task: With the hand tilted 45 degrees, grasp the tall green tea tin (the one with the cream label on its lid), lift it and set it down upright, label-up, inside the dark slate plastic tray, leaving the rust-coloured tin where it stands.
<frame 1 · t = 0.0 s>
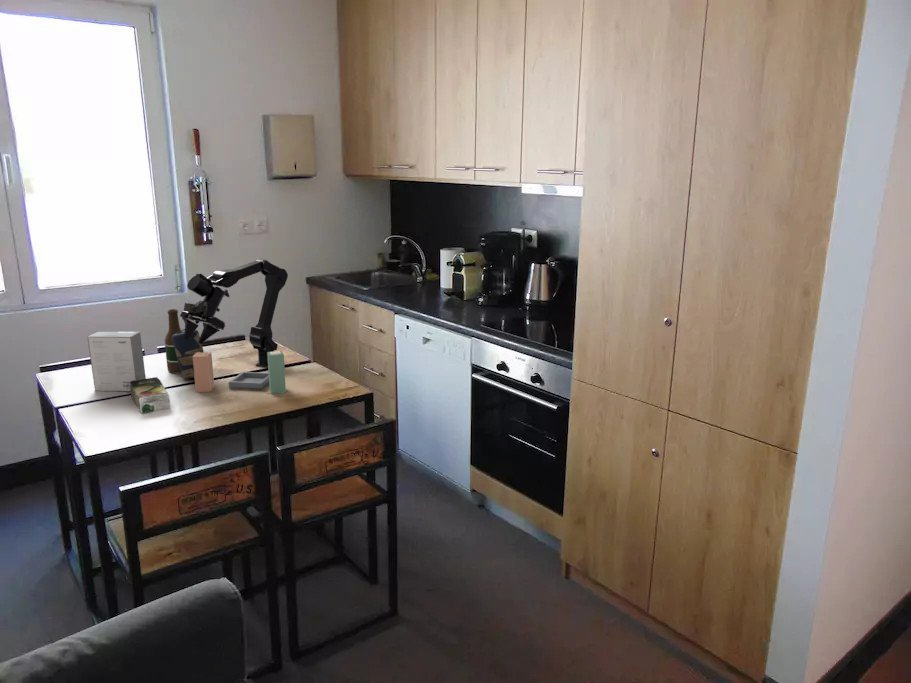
hand: (192, 341, 241), 16 cm above the table, tool tilted 35°, fingers open, 8 cm apart
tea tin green: (277, 391, 241), on the table
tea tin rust: (205, 389, 241), on the table
beer bottle: (178, 371, 262), on the table
tray: (251, 383, 248), on the table
juice carton: (150, 403, 228), on the table
canister: (196, 376, 253), point 1 cm above the table, touching gripper
hard drive box: (121, 388, 242), on the table
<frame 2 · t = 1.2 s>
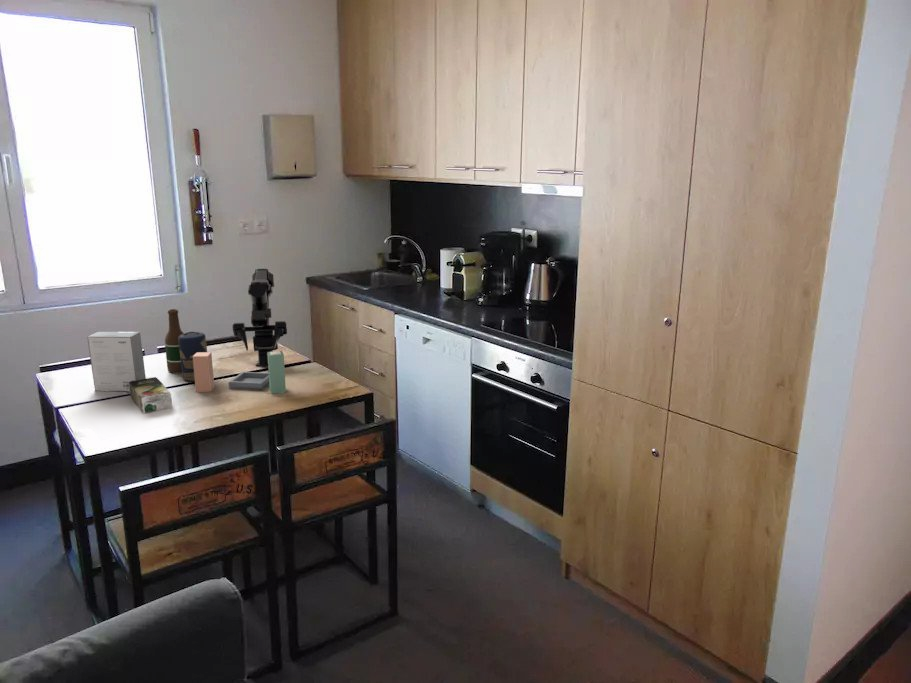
hand: (260, 349, 243), 14 cm above the table, tool tilted 45°, fingers open, 9 cm apart
canister: (196, 378, 253), on the table
everything else where it was.
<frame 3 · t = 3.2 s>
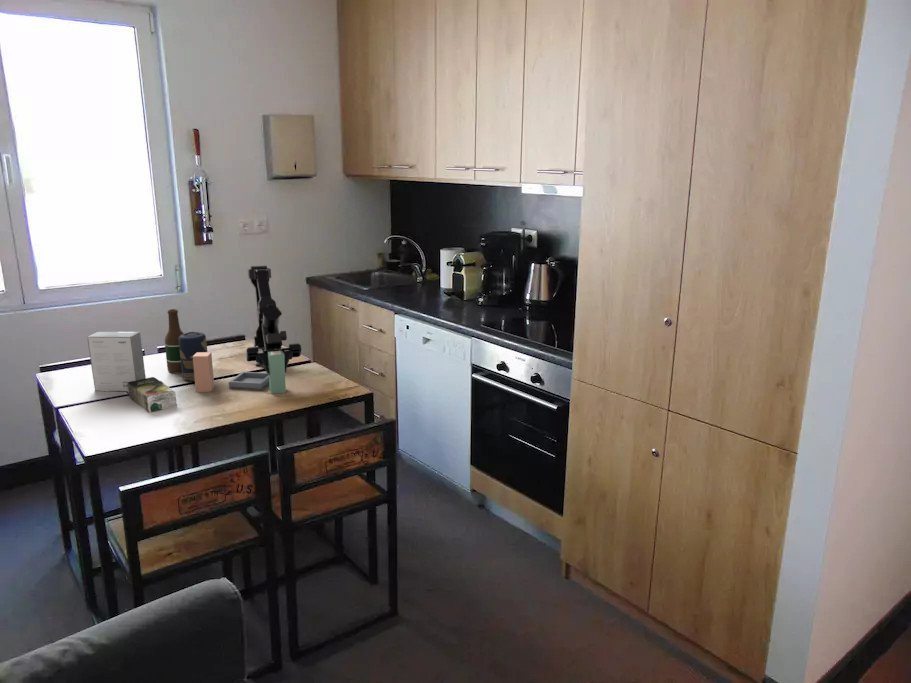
hand: (277, 373, 238), 7 cm above the table, tool tilted 45°, fingers open, 5 cm apart
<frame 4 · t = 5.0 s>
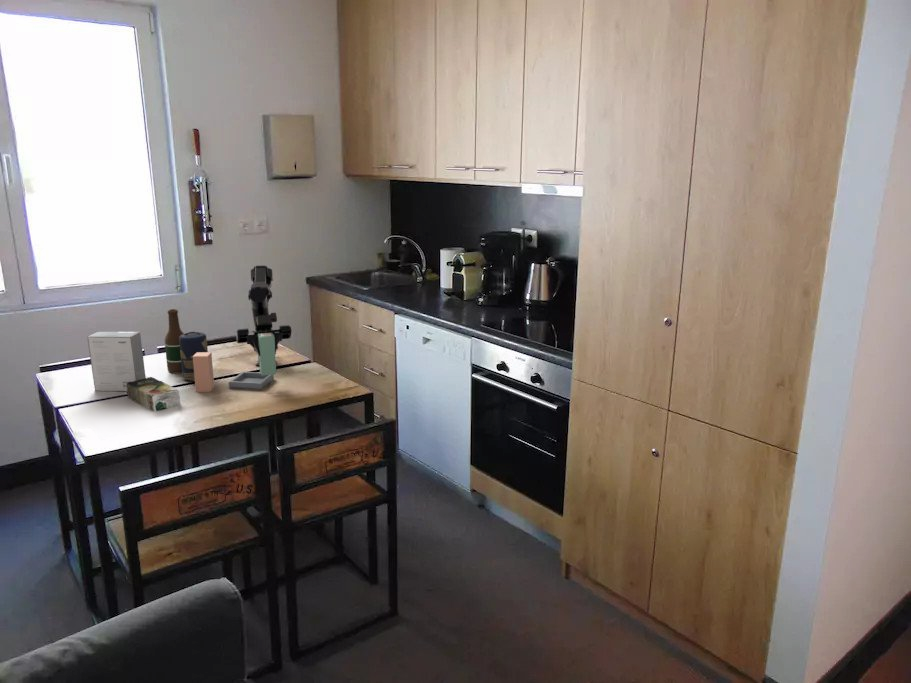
hand: (267, 354, 239), 13 cm above the table, tool tilted 45°, fingers closed on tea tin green, 5 cm apart
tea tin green: (268, 372, 242), point 6 cm above the table, touching gripper
when the fingers open (9 cm above the table, at t = 6.6 s): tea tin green drops 1 cm, resting on tray.
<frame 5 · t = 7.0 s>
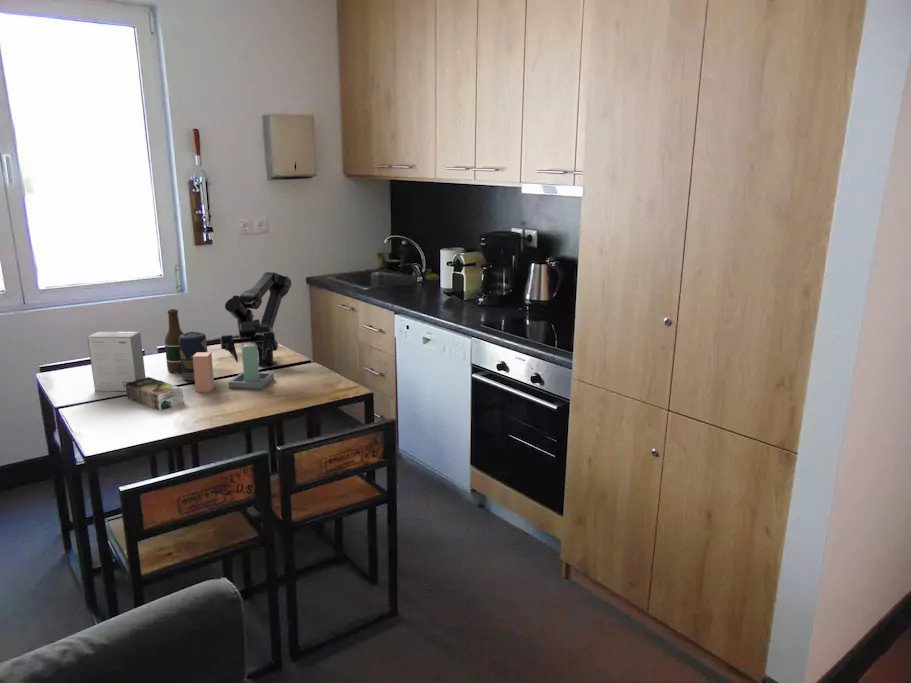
hand: (250, 360, 244), 9 cm above the table, tool tilted 45°, fingers open, 9 cm apart
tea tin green: (251, 381, 247), point 1 cm above the table, touching tray
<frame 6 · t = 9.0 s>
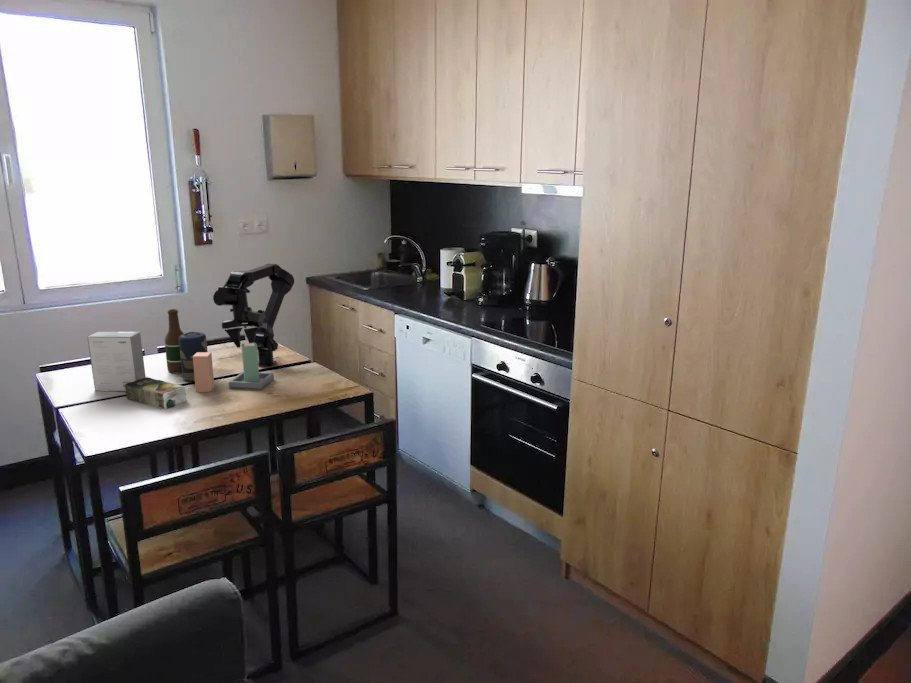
hand: (245, 346, 252), 12 cm above the table, tool tilted 15°, fingers open, 9 cm apart
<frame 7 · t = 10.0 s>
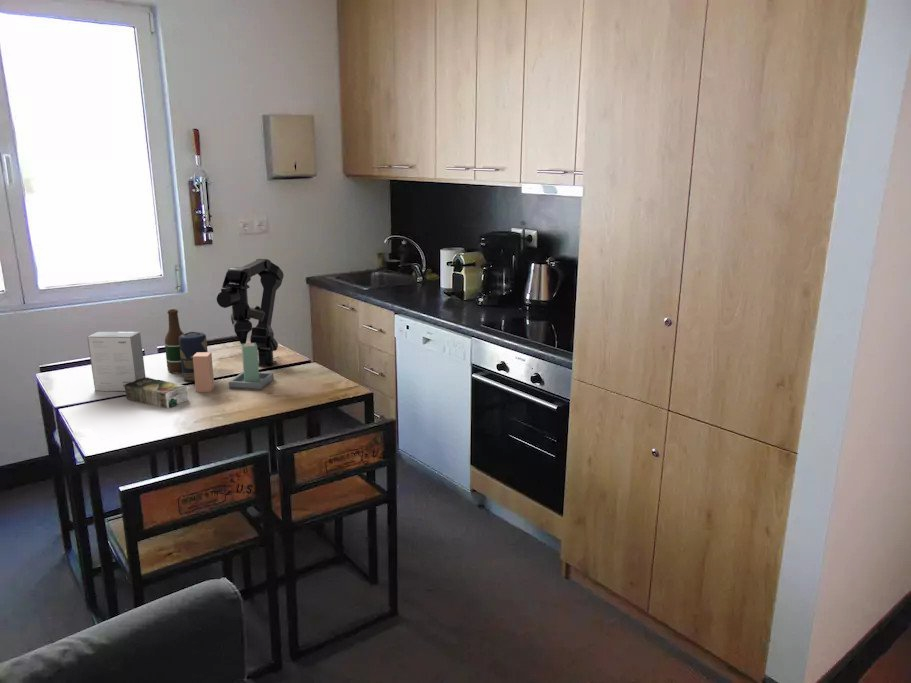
hand: (242, 343, 252), 13 cm above the table, tool pointing down, fingers open, 9 cm apart
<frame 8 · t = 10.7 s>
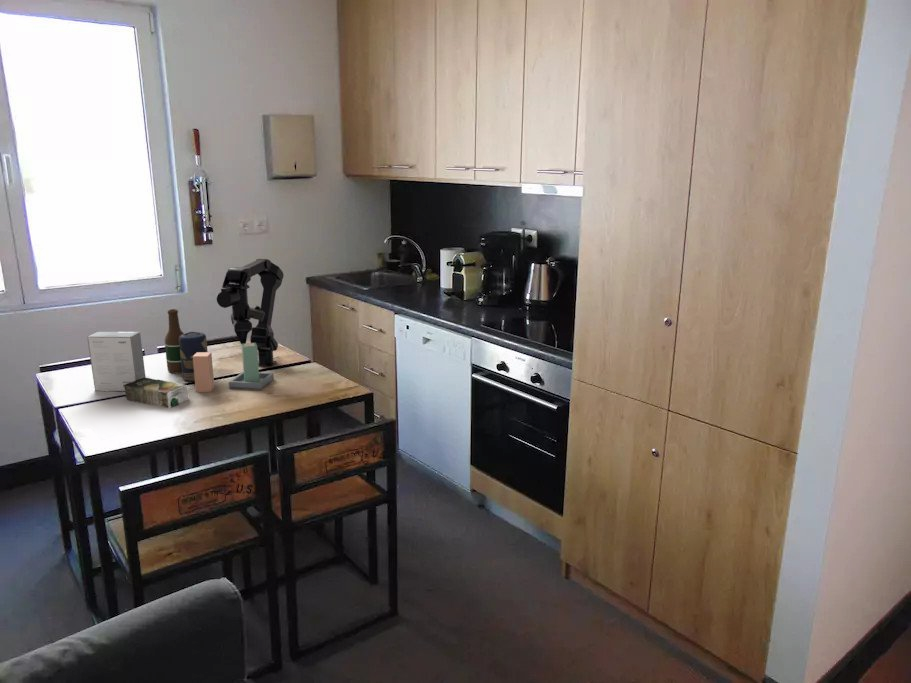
hand: (242, 343, 252), 13 cm above the table, tool pointing down, fingers open, 9 cm apart
at the end: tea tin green inside the target area on the tray (0.0 cm from its centre), point 0.8 cm above the tray's base; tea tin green tilted 0°; the gripper is holding nothing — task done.
